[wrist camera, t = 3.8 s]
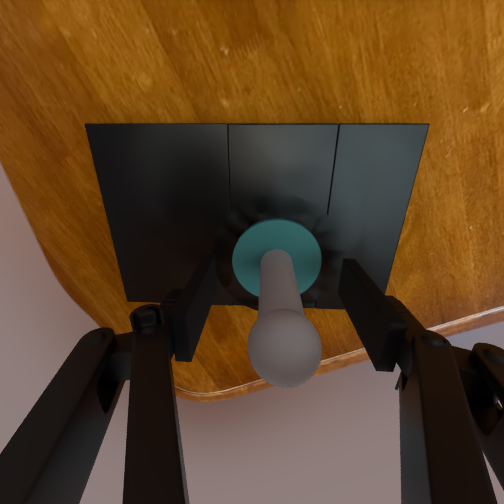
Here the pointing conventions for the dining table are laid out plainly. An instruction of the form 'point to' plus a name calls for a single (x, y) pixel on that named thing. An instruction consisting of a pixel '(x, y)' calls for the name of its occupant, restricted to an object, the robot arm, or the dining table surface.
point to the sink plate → (252, 198)
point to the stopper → (280, 299)
